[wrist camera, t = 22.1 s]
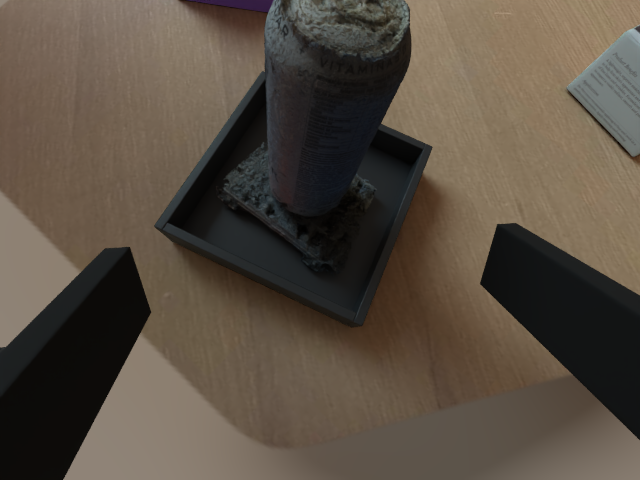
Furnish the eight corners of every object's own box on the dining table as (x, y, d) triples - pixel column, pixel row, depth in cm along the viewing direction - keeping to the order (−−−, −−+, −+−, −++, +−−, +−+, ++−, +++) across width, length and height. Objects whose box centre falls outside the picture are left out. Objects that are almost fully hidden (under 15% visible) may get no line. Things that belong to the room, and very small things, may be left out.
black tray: (171, 241, 18) (153, 226, 16) (265, 99, 22) (262, 70, 20) (352, 328, 18) (362, 326, 15) (416, 168, 22) (433, 146, 19)
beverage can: (385, 180, 20) (508, -21, 9) (337, 284, 18) (422, 189, 6) (263, 122, 21) (233, -140, 9) (200, 216, 18) (55, 16, 7)
